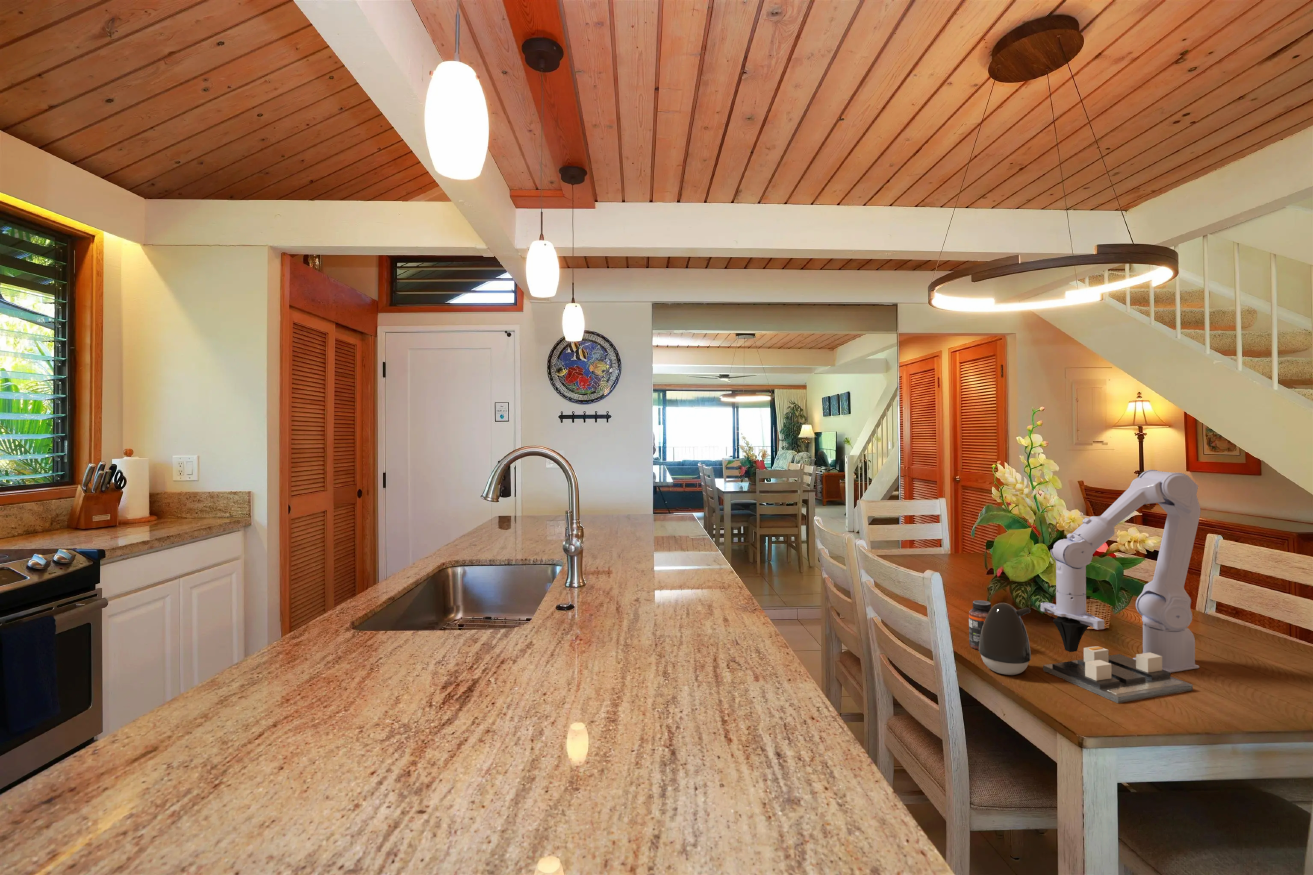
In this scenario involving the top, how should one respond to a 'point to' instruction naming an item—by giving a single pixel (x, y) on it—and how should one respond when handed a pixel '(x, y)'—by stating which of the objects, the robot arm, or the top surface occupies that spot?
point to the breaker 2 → (1149, 662)
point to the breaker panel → (1120, 680)
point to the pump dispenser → (1005, 640)
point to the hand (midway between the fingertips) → (1071, 650)
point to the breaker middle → (1095, 654)
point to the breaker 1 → (1098, 670)
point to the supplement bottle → (977, 621)
